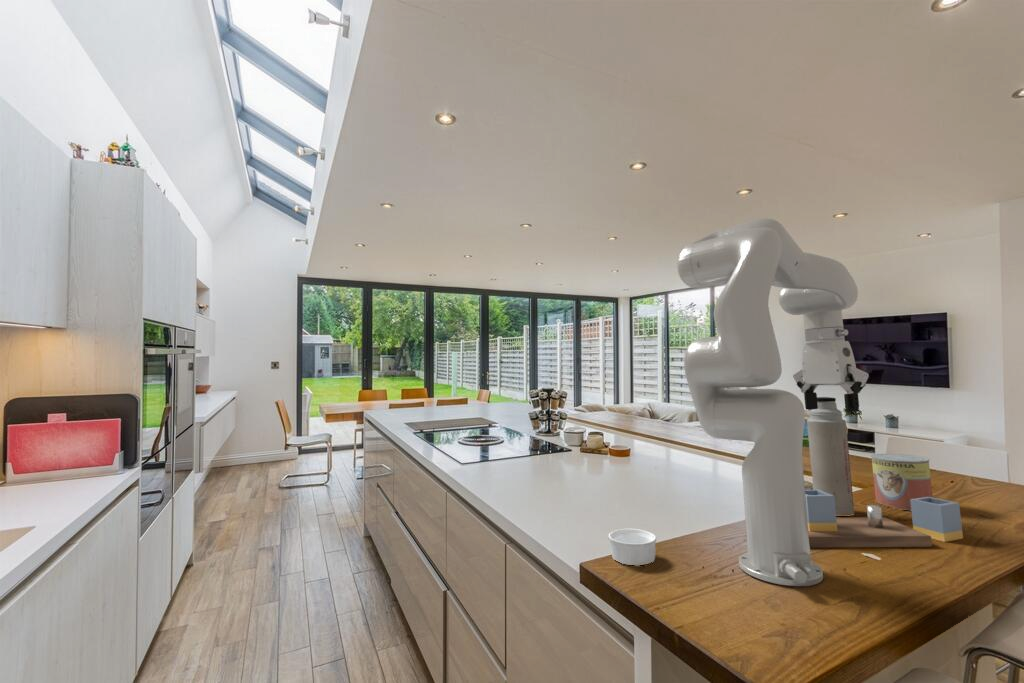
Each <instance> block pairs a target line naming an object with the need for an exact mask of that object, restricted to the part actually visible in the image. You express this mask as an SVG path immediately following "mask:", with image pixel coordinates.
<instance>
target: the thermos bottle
mask: <svg viewBox="0 0 1024 683" xmlns="http://www.w3.org/2000/svg"><path fill="white" fill-rule="evenodd" d="M817 403H818V408H817V409H812V410H809V414H808V416H809V419H807V420H806V422H807V423H806V424H807V435H808V436H807V437H808V446H809V448H808V449H809V456H810V457H809V458H810V467H811V468H810V470H811V476H812V477H811V478H812V480H811V481H812V490H814V489H818V490H821V491H823V492H826V493H828V494H831V495H833V496H834V499H835V510H836V514H837V515H851V514H854V513H855V504H854V494H853V493H854V492H853V484H852V483H853V481H852V472H851V464H850V463H851V462H850V461H851V460H850V452H849V441H848V430H847V428H848V427H847V421H846V420H845V419H843V413H842V410H840V409H838V406H837V400H836V398H835V397H829V396H828V397H827V396H822V397H821V396H819V397H818V396H817ZM854 515H855V514H854Z"/></svg>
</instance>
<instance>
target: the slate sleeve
mask: <svg viewBox="0 0 1024 683" xmlns="http://www.w3.org/2000/svg"><path fill="white" fill-rule="evenodd" d="M910 502H911V511H912V512H911V519H912V529H915V530H917V531H919V532H922V533H924V534H927V535H929V536H931V540H932V539H933V540H936V541H939V542H943V543H947V542H952V541H957V540H962V539H964V535H963V527H962V526H963V525H962V516H961V507H960V502H955V501H952V500H945V499H942V498H936V497H922V498H915V499H910Z"/></svg>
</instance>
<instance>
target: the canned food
mask: <svg viewBox="0 0 1024 683" xmlns="http://www.w3.org/2000/svg"><path fill="white" fill-rule="evenodd" d="M870 457H871V464H872V475H873V483H874V485H873V487H874V494H875V502H876V501H877V502H878V503H880V504H883V505H886V506H890V507H895V508H899V509H904V510H910V511H911V502H910V499H915V498H922V497H933V489H932V487H933V486H932V478H931V477H932V476H931V469H930V459H929V458H927V457H923V456H919V455H910V454H900V453H899V454H898V453H897V454H896V453H876V454H872V455H871V456H870ZM933 498H934V497H933Z"/></svg>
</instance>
